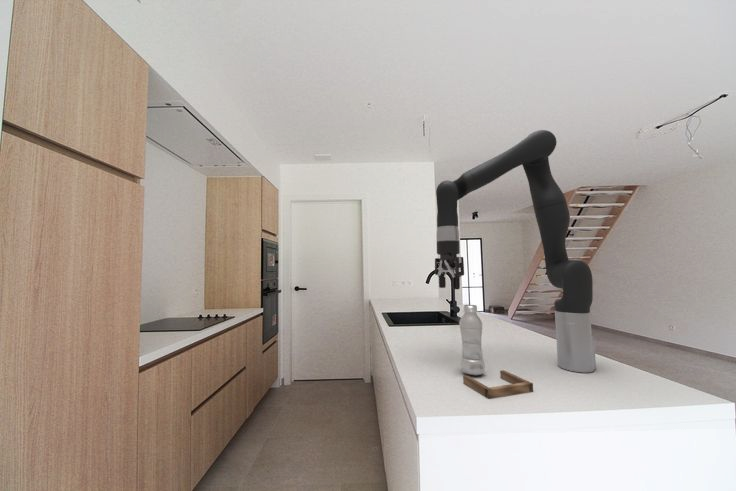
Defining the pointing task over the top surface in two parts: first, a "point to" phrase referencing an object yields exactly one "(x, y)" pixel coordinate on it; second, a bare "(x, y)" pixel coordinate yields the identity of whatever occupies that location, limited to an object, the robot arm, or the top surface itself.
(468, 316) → the plastic bottle
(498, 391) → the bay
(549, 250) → the robot arm
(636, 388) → the top surface
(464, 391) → the top surface
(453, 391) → the top surface
